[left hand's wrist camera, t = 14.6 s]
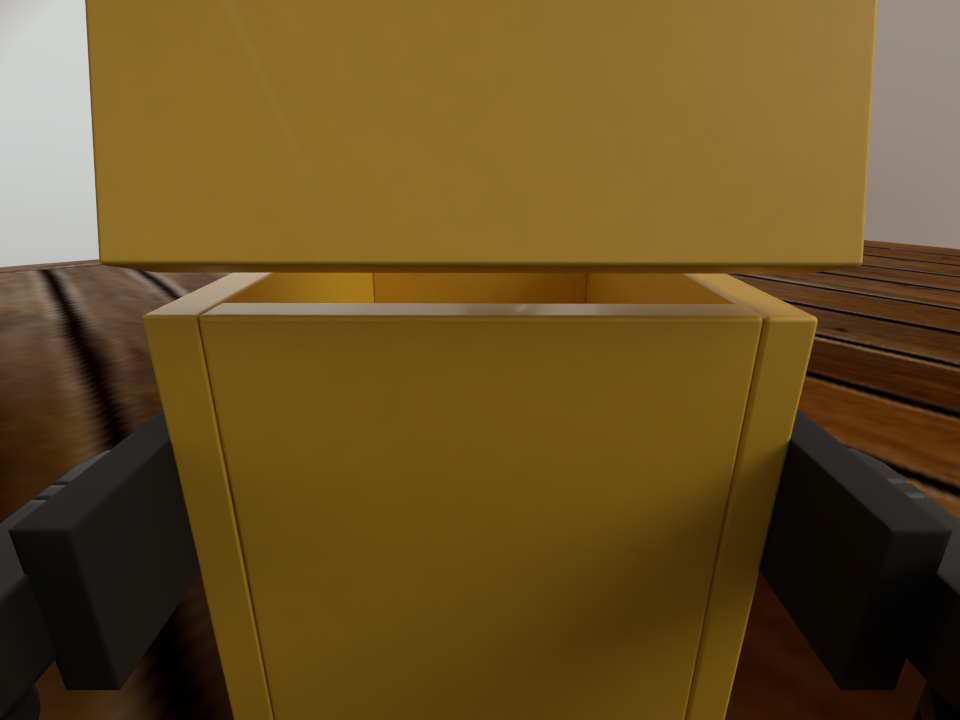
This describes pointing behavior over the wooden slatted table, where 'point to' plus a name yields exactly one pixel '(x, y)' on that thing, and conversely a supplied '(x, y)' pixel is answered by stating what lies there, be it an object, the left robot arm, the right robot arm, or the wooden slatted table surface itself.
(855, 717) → the wooden slatted table surface
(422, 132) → the lid
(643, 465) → the chest
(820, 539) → the left robot arm
